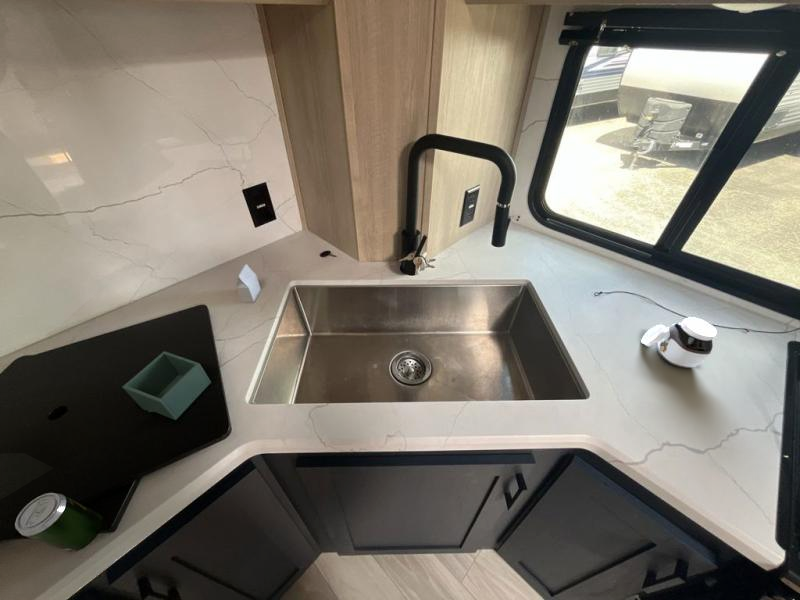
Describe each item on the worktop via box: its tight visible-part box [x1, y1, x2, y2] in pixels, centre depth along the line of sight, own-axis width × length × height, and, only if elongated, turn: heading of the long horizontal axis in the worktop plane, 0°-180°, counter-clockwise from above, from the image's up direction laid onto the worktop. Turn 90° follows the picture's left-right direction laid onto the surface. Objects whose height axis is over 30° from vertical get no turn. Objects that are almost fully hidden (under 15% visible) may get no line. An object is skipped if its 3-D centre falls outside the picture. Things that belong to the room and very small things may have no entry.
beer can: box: [14, 492, 104, 553], centre depth 50 cm, size 5×5×12 cm
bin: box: [121, 350, 212, 421], centre depth 72 cm, size 10×10×9 cm
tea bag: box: [235, 263, 262, 304], centre depth 99 cm, size 4×7×10 cm, turn 1°
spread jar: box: [641, 316, 718, 369], centre depth 84 cm, size 12×11×12 cm
